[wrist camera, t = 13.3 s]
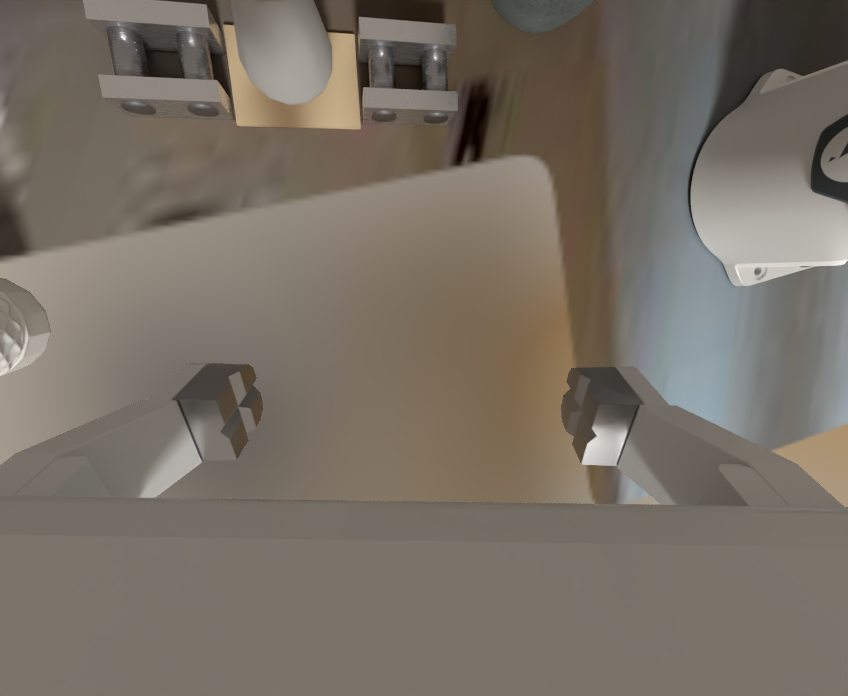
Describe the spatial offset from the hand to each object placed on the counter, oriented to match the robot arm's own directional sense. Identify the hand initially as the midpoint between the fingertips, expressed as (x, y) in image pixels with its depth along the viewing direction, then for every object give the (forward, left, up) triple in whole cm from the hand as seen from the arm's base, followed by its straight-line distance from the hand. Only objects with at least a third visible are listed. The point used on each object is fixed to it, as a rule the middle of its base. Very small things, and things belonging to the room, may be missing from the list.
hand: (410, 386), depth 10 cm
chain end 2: (-4, -16, -22) cm, 28 cm away
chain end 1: (+12, -16, -22) cm, 30 cm away
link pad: (+4, -16, -22) cm, 28 cm away
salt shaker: (+4, -17, -22) cm, 28 cm away
